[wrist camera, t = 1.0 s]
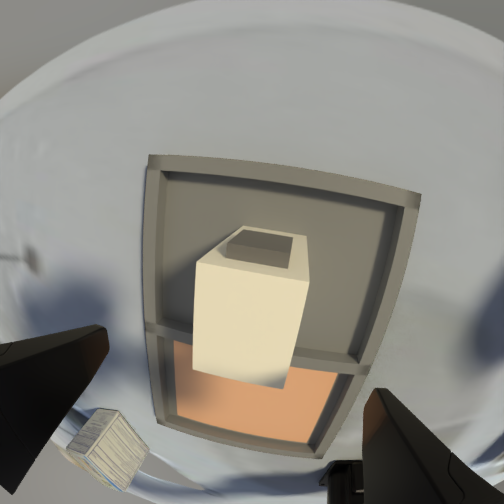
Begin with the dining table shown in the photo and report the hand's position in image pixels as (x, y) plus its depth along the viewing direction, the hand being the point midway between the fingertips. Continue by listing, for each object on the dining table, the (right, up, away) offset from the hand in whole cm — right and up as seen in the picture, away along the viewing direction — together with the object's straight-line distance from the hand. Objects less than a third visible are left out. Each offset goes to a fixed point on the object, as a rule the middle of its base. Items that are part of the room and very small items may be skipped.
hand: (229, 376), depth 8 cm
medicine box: (-16, -19, +20) cm, 32 cm away
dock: (+1, -3, +12) cm, 12 cm away
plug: (+2, +3, +10) cm, 11 cm away
